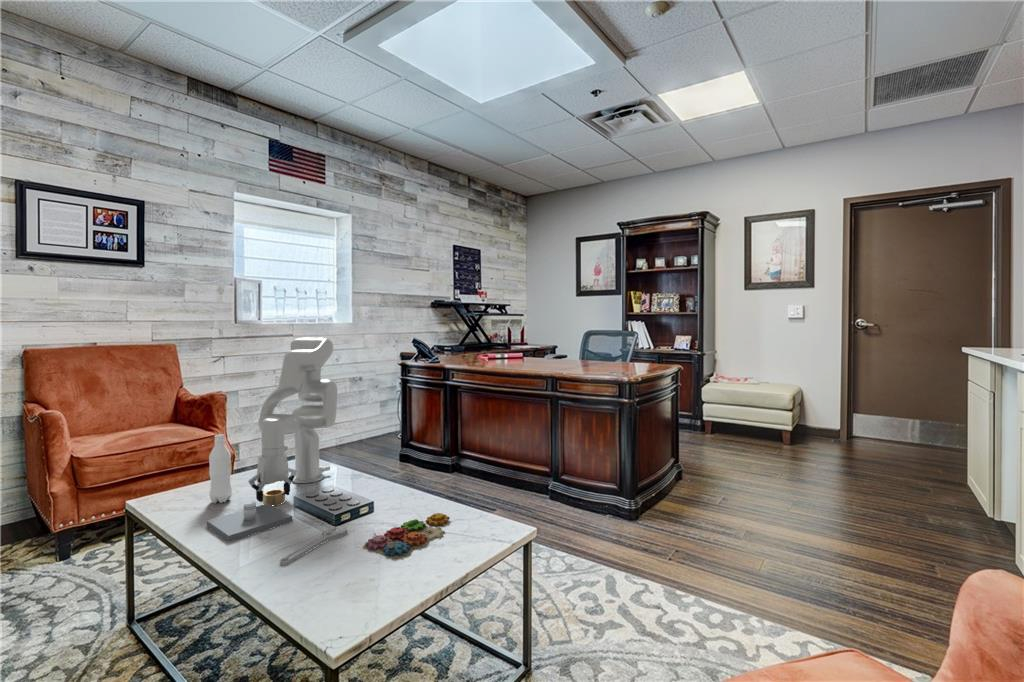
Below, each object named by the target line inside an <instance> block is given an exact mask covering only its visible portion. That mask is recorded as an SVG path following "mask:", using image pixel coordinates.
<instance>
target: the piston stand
mask: <svg viewBox="0 0 1024 682" xmlns="http://www.w3.org/2000/svg"><path fill="white" fill-rule="evenodd" d="M293 521H294V520H293V515H292V514H290V513H288V512H285V511H284V510H282V509H280V508H278V507H277V506H272V505H270V504H264V505H263V504H261V505H258V506H257V502H256V501H254V500H253V501H246V502H244V503H243V510H240V511H236V512H232V513H229V514H225V515H221V516H217V517H214V518H211V519H207V520H206V527H207V528H208V529H210V530H211V531H212V532H214V533H216V534H217V535H218V536H219V537H221V538H222V539H223V540H225V541H227V542H228V543H231V542H233V541H237V540H240V539H242V537H243V538H246V537H245V536H247V537H249V536H248V535H250V536H253V535H256V534H259V533H263V532H265V530H266V531H269V530H271V529H270V528H272V529H274V528H273V527H275V528H278V527H281V526H284V525H283V524H285V525H287V524H286V523H288V524H290V522H291V523H293ZM280 525H281V526H280ZM277 526H278V527H277ZM268 529H269V530H268ZM258 532H259V533H258ZM255 533H256V534H255ZM252 534H253V535H252ZM239 538H240V539H239Z"/></svg>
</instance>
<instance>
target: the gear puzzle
mask: <svg viewBox="0 0 1024 682" xmlns="http://www.w3.org/2000/svg"><path fill="white" fill-rule="evenodd" d="M449 520H450V516H448V515H447V514H445V513H444V514H443V513H442V512H441V513H440V512H437V513H433V514H431V515H430V516H427V517H426V520H425V521H423V520H419V519H417V518H416V519H415V518H414V519H411V520H408V521H406V522H405V521H404V522H403V523H402V525H400V526H394V527H391V528H390V529H388V530H386V532H385V533H383V534H381V535H379V534H378V535H376V536H373V537H372V538H369V539H368V540H367V542H365V544H364V545H362V549H363V550H364V549H365V550H370V549H372V552H373V553H376V554H379V555H382V556H384V557H385V556H387V555H389V556H390V559H393V560H399V559H401V558H402V557H404V558H407V557H409V556H411V555H412V553H411V552H413V551H414V550H417V549H419V548H422V549H423V548H425V547H427V546H429V543H430V542H431V541H434V540H435V539H438V538H440V539H442V538H443V537H444V534H445V533H446V532H445V530H443V529H442V527H439V526H438V525H440V526H444V524H445V523H449ZM426 524H428V525H426ZM433 525H434V526H435V527H436V528H435V527H432V526H433ZM441 529H442V530H441ZM443 533H444V534H443ZM442 534H443V535H442ZM441 537H442V538H441ZM433 539H434V540H433Z"/></svg>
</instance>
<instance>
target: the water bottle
mask: <svg viewBox="0 0 1024 682" xmlns="http://www.w3.org/2000/svg"><path fill="white" fill-rule="evenodd" d="M225 442H226V440H225V434H224V433H220V434H219V433H218V434H215V435H214V442H213V443H214V445H213V447H212V449H211V451H210V453H209V456H208V461H209V462H208V463H209V471H208V474H209V478H210V489H209V499H210V501H211V503H212V504H217V503H218V502H219V503H220V504H223V503H222V502H224V503H226V502H227V500H229V501H230V500H231V499H232V495H233V494H232V493H233V488H232V485H231V474H232V464H231V462H232V460H231V458H232V454H231V452H230V449H229V448H228V447H227V445H226V443H225Z"/></svg>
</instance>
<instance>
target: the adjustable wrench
mask: <svg viewBox="0 0 1024 682" xmlns="http://www.w3.org/2000/svg"><path fill="white" fill-rule="evenodd" d="M347 534H348V527H347V526H343V528H342V529H339V530H337V526H331V527H328V528H327V529H325V530H323V532H322V534H321V536H319V537H318V538H316V539H314V540H312V541H311V542H309V543H307V544H305V545H303V546H301V547H300V548H298V549H296V550H294V551H293V552H291V553H289V554H287V555H285V556H283V557H282V558H281V559H279V565H280V564H281V565H280V566H287V565H290V564H291V563H292V562H294V561H296V560H298V559H299V558H301V557H302V556H301V555H303V554H304V555H306V554H307V553H306V552H308V551H309V550H311V549H313V548H314V547H316V546H318V545H319V546H321V545H322V544H321V543H323V542H325V541H326V542H327V540H328V541H331V540H334V539H336V538H340V536H341V537H344V536H346V535H347ZM330 539H331V540H330ZM326 542H325V543H326ZM320 544H321V545H320ZM323 544H324V543H323ZM319 546H318V547H319ZM316 548H317V547H316ZM314 549H315V548H314ZM314 549H313V550H314ZM311 551H312V550H311ZM309 552H310V551H309ZM309 552H308V553H309ZM305 553H306V554H305ZM304 555H303V556H304ZM300 556H301V557H300ZM298 557H299V558H298ZM297 558H298V559H297ZM295 559H296V560H295ZM293 560H294V561H293ZM291 561H292V562H291ZM290 562H291V563H290ZM286 564H287V565H286Z"/></svg>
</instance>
